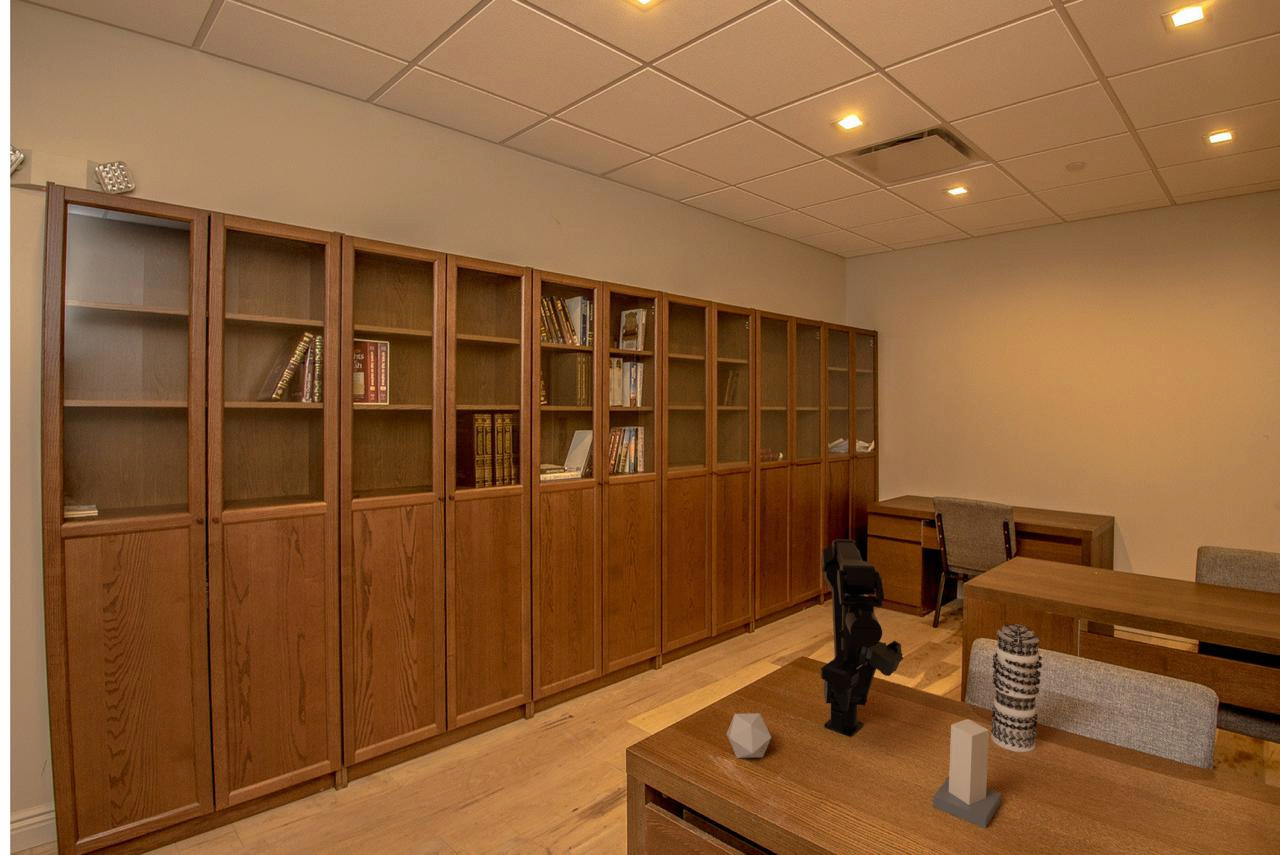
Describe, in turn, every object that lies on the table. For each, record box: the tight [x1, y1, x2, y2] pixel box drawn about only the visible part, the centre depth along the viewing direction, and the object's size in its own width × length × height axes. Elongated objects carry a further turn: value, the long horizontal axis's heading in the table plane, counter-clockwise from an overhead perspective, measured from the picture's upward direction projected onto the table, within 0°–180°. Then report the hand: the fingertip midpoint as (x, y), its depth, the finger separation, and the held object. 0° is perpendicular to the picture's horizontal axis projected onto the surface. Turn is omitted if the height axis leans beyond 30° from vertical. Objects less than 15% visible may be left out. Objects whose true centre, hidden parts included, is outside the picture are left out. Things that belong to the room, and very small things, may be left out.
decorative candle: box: [990, 623, 1043, 753], centre depth 149 cm, size 9×9×25 cm
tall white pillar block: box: [948, 718, 990, 805], centre depth 129 cm, size 4×4×13 cm
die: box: [726, 712, 772, 759], centre depth 147 cm, size 8×9×10 cm
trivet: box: [932, 776, 1002, 829], centre depth 129 cm, size 9×9×2 cm
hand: (855, 702), depth 142 cm, fingers open, 9 cm apart
